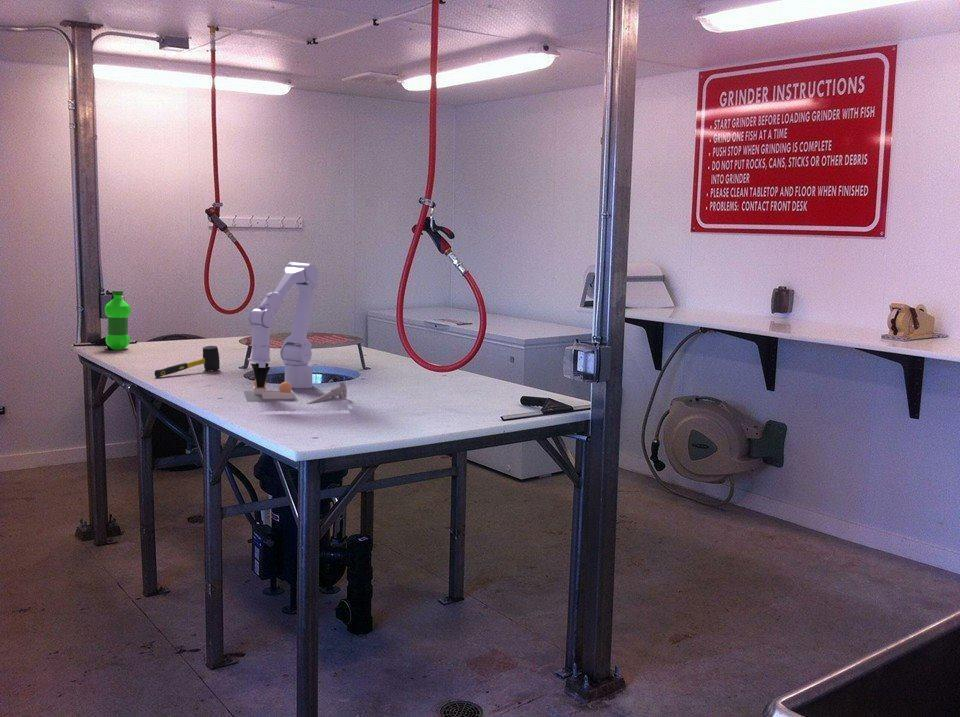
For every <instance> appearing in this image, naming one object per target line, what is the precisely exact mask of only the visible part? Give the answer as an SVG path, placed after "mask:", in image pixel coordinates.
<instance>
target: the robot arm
mask: <svg viewBox="0 0 960 717" xmlns="http://www.w3.org/2000/svg"><path fill="white" fill-rule="evenodd" d="M283 270H284V275H283V277H282V278H281V279H280V281H279V283H278V285H277V286H276V287H275V289H274V291H270V292H268V293H267V294H266V296H265V297H264V299H263V300H262V301H261V303H260V304H259V306H258V307H257V308H254V309H253V310H251V312H250V313H249V315H248V318H247V321H248V323H249V324H250V330H251V357H249V358H247V361H248V362H251V363H250V365H251V367H252V370H253V374H254V380H255V379H256V384H257V387H264V385H265V381H266V380H267V376H268V374H269V371H270V369H271V366H269V362H271V358H270V356H271V355H270V354H271V352H270V350H271V349H270V348H271V346H270V345H271V344H270V343H271V327H272V325H274V322H275V318H276V316H277V312H278V311H279V309H280V308H281V307H282V305H283V304H284V297H285V296H286V294H288V293H289V292H290V291H291V289H292V288H293V287H295V288H297V290H298V296H297V300H296V304H295V305H296V306H295V311H294V317H293V322H292V328H291V333H290V335H288V336H287V337H286V338H285V339H283V344H282V346H281V348H280V351H279V356H280V359H281V360H282V361H283V362H282V363H283V364H284V382H288V383H290V384H291V386H292V389H304V388H305V389H310V388H311V389H312V388H313V365H312V364H311V363H310V361H311V359H312V354H313V353H312V352H313V351H312V347H313V343H311V341H310V340H309V339H308V337H307V336H308V331H309V330H308V329H309V324H310V320H311V315H312V309H313V304H314V298H315V293H316V288H317V284H318V278H319V275H320V274H319V273H320V272H319V269H318V267H317V266H316V264H315V263H312V262H311V263H307V262H306V263H305V262H295V261H289V263H287V265H286V266H285V268H284V269H283ZM266 382H267V381H266Z"/></svg>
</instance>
